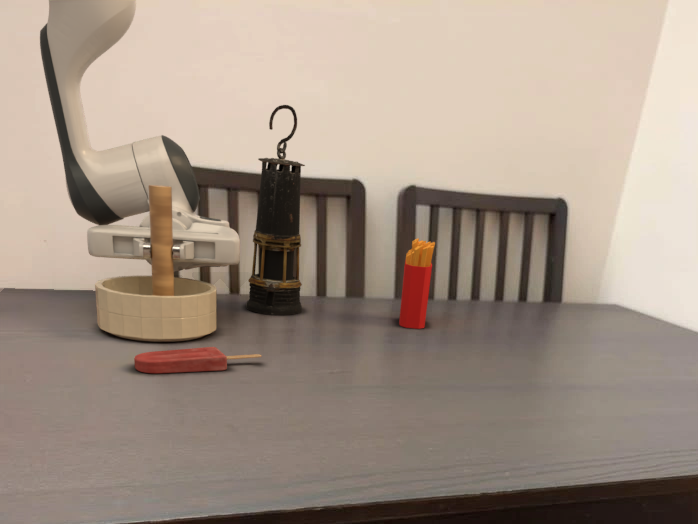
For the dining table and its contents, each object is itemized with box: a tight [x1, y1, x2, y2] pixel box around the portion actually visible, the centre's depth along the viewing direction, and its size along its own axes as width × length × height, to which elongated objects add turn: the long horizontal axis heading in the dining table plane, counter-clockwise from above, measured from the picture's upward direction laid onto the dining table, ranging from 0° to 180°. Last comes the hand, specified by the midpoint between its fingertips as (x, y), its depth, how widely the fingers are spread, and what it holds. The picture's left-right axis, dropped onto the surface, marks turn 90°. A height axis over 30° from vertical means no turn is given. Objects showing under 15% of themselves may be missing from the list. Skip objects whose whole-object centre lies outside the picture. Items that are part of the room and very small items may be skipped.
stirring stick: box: [149, 185, 175, 296], centre depth 95 cm, size 4×4×17 cm
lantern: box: [245, 104, 306, 316], centre depth 113 cm, size 9×9×30 cm
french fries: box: [398, 237, 436, 330], centre depth 115 cm, size 9×4×13 cm, turn 177°
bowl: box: [94, 274, 218, 343], centre depth 99 cm, size 16×16×6 cm
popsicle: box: [133, 346, 263, 374], centre depth 85 cm, size 4×2×15 cm
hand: (161, 252), depth 94 cm, fingers closed on stirring stick, 3 cm apart
